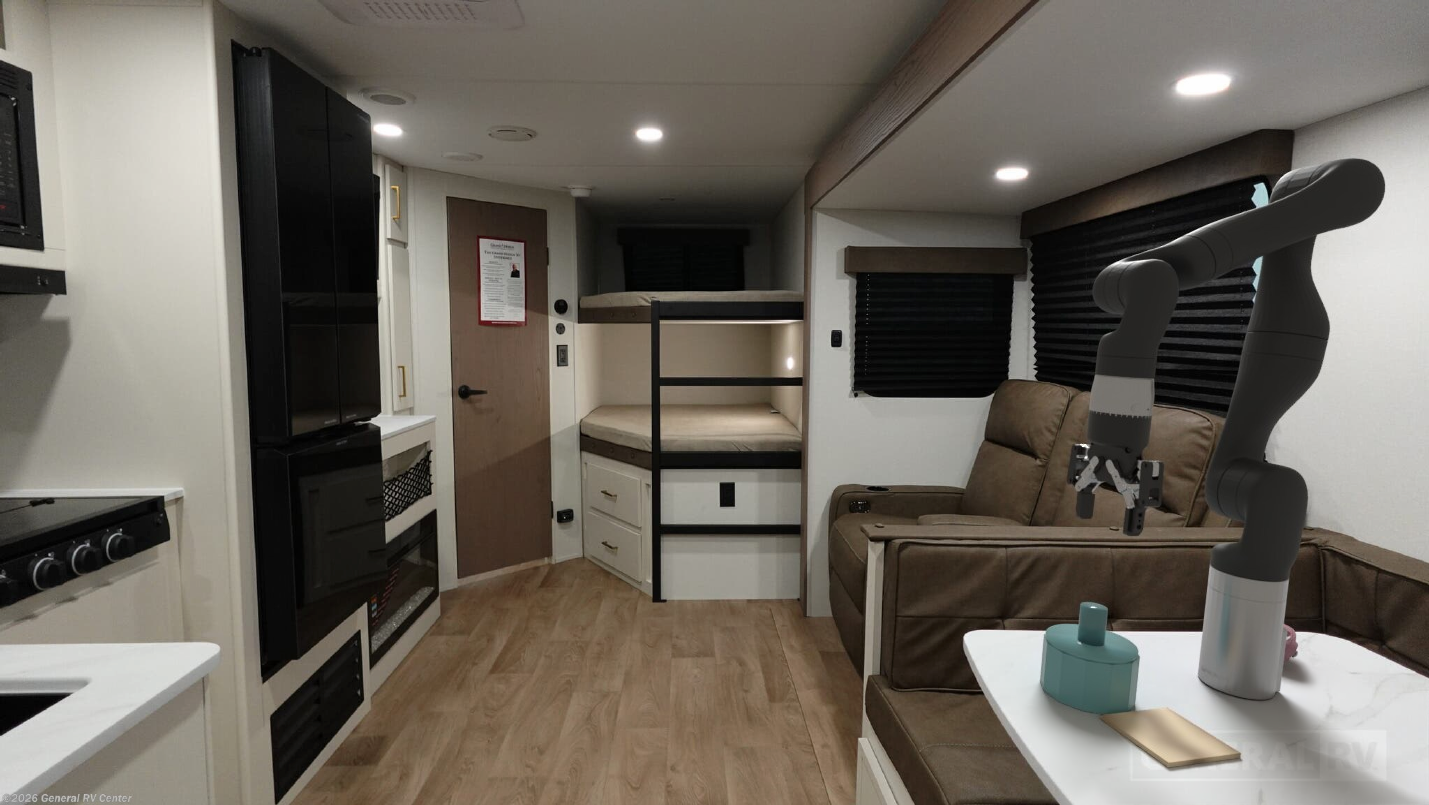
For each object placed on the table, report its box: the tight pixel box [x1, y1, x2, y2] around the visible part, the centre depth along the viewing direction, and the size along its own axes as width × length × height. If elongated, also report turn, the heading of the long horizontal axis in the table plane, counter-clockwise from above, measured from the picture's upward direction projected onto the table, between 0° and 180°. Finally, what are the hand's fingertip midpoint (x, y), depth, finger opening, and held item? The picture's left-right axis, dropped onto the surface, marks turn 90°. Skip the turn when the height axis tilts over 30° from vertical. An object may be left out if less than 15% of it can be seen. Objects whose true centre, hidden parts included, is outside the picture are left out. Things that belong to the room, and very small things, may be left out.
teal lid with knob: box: [1039, 601, 1141, 715], centre depth 101 cm, size 12×12×13 cm
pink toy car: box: [1283, 623, 1299, 662], centre depth 115 cm, size 10×5×7 cm, turn 148°
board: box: [1100, 707, 1242, 768], centre depth 91 cm, size 11×11×1 cm
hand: (1106, 526), depth 99 cm, fingers open, 8 cm apart
